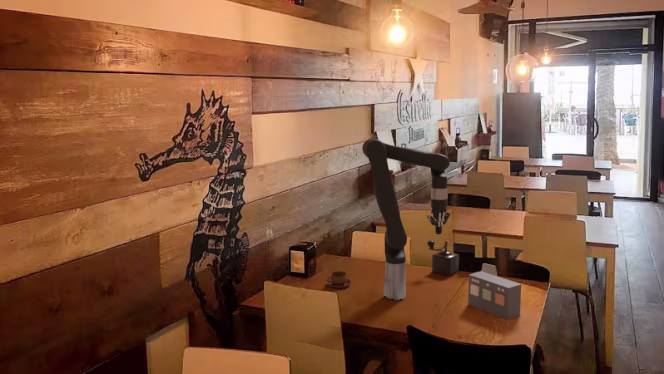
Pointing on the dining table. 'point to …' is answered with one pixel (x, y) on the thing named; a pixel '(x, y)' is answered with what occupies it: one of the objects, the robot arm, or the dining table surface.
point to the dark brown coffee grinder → (444, 260)
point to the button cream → (475, 290)
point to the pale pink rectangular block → (489, 269)
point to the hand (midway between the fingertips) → (438, 234)
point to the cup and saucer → (338, 280)
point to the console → (496, 285)
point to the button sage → (487, 294)
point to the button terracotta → (500, 299)
